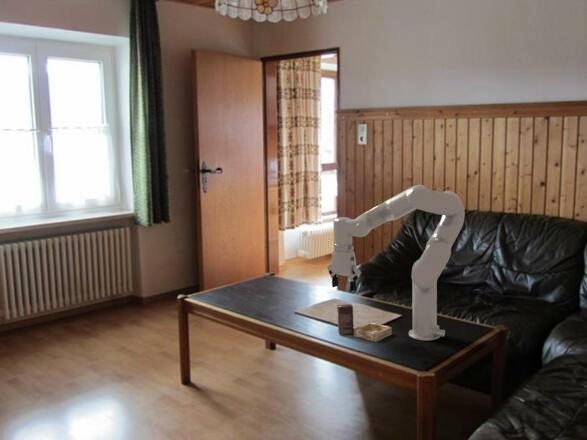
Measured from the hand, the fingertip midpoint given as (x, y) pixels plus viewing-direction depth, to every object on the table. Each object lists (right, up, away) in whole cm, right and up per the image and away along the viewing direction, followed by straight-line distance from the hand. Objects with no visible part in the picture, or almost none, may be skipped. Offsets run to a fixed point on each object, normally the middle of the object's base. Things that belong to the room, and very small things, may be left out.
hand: (344, 288), depth 250 cm
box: (+1, -19, +1) cm, 19 cm away
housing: (+12, -19, -2) cm, 22 cm away
